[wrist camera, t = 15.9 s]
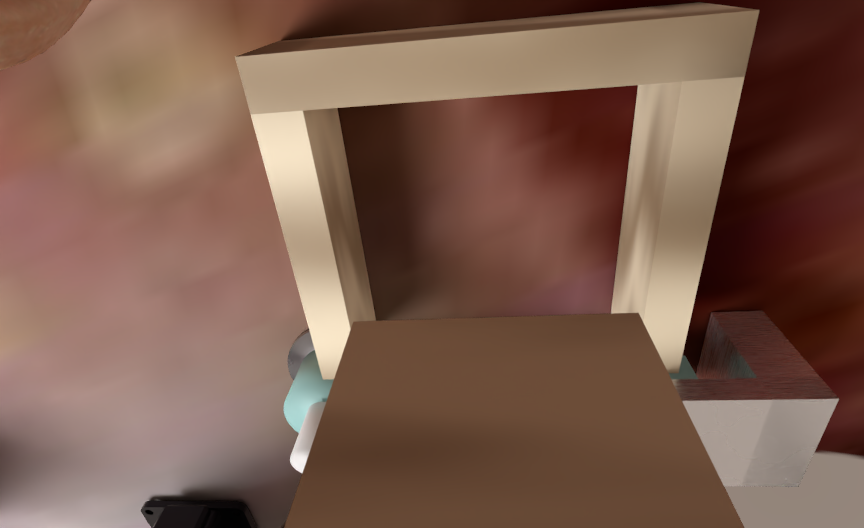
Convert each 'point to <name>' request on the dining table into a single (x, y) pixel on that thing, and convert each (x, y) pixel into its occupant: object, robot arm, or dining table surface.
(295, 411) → the link
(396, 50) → the cream c-clamp frame
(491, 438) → the light wood block
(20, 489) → the dining table surface
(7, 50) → the ceramic jug
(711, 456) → the grey hooked piece
